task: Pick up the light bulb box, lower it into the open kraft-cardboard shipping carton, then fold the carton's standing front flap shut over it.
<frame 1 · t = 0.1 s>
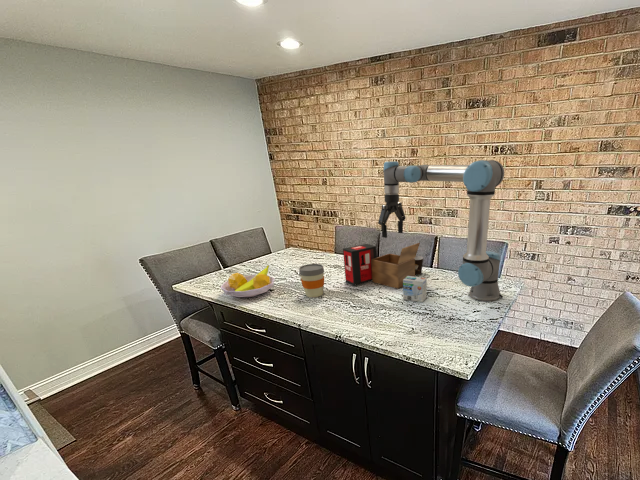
hand: (392, 235, 181), 28 cm above the worktop, tool pointing down, fingers open, 13 cm apart
light bulb box: (414, 298, 172), on the worktop
cleaning product box: (361, 281, 198), on the worktop
carton: (393, 281, 196), on the worktop
flap: (408, 253, 182), point 19 cm above the worktop, hinge at 110.0°
coffee mug: (414, 273, 209), on the worktop
fruit bowl: (252, 292, 183), on the worktop
reusable coffee cup: (314, 294, 179), on the worktop
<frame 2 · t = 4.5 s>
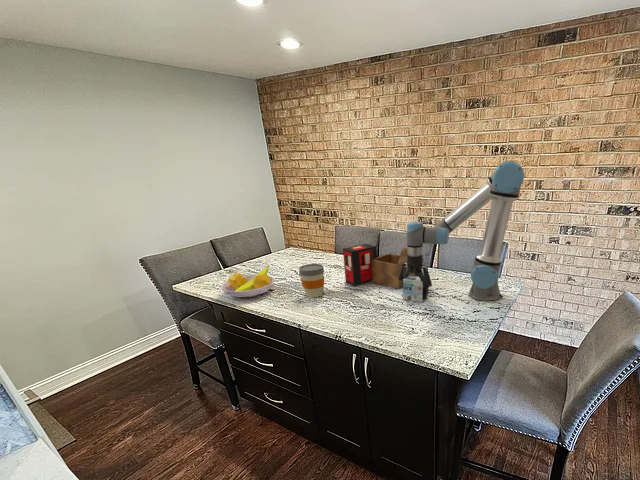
hand: (414, 296, 171), 1 cm above the worktop, tool pointing down, fingers closed on light bulb box, 11 cm apart
light bulb box: (414, 298, 172), on the worktop, touching gripper
everything else where it was.
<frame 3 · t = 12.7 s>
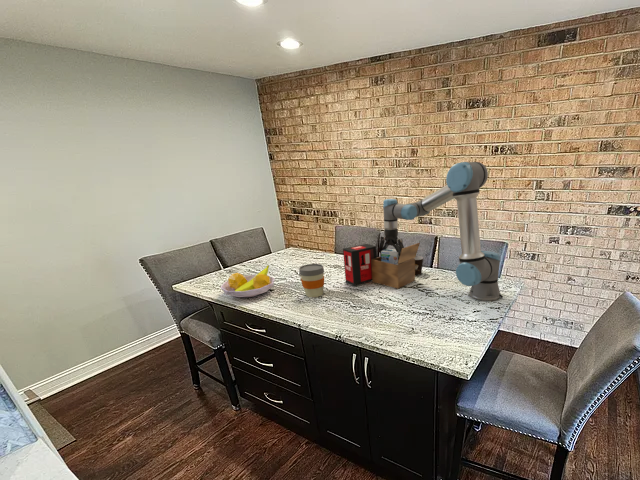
hand: (392, 266, 193), 9 cm above the worktop, tool pointing down, fingers closed on light bulb box, 11 cm apart
light bulb box: (392, 269, 193), point 7 cm above the worktop, touching gripper
everything else where it was.
when the fingers open (9 cm above the worktop, at t = 17.0 s): light bulb box drops 4 cm, point 4 cm above the worktop.
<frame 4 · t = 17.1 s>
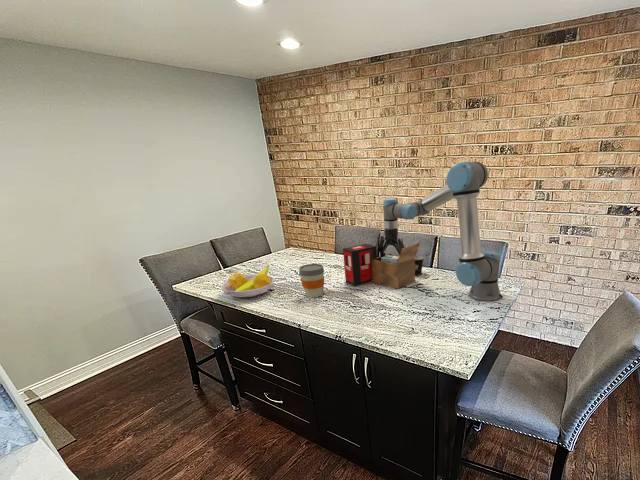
hand: (392, 265, 193), 9 cm above the worktop, tool pointing down, fingers open, 12 cm apart
light bulb box: (392, 275, 195), point 4 cm above the worktop
everything else where it was.
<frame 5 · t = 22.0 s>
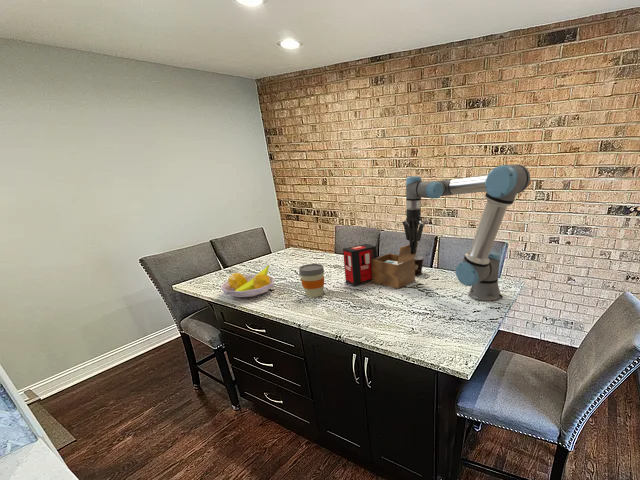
hand: (413, 253, 181), 19 cm above the worktop, tool pointing down, fingers closed
light bulb box: (393, 280, 196), resting on carton
flap: (408, 252, 182), point 19 cm above the worktop, hinge at 102.8°, touching gripper
everything else where it was.
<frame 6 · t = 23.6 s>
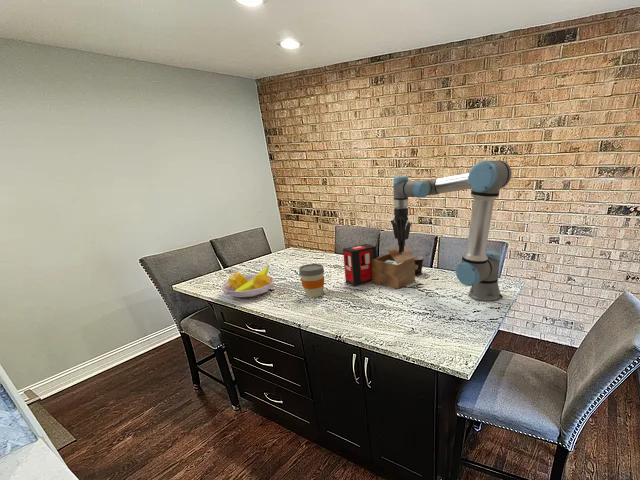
hand: (401, 251, 185), 19 cm above the worktop, tool pointing down, fingers closed
flap: (401, 253, 186), point 17 cm above the worktop, hinge at 43.7°, touching gripper
everything else where it was.
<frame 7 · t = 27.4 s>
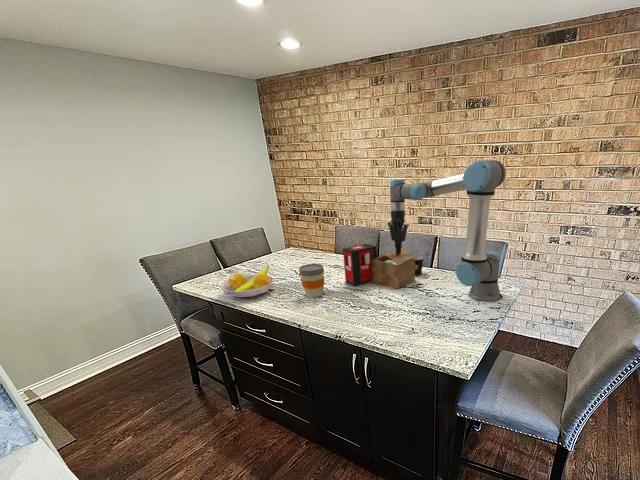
hand: (398, 253, 187), 17 cm above the worktop, tool pointing down, fingers closed
flap: (400, 256, 187), point 16 cm above the worktop, hinge at 23.0°, touching gripper
everything else where it was.
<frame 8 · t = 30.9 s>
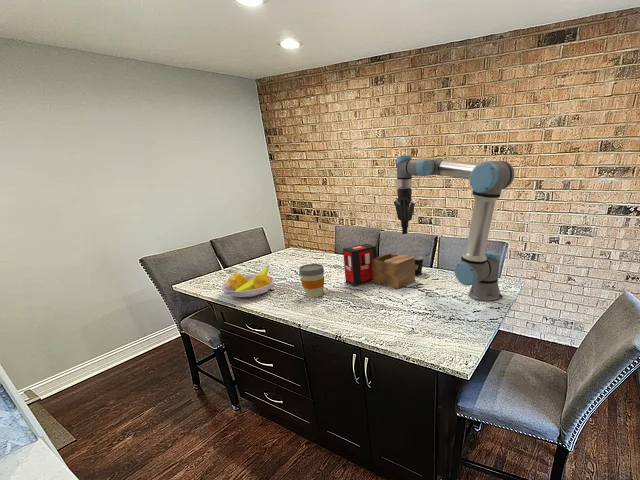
hand: (404, 233, 182), 28 cm above the worktop, tool pointing down, fingers closed
flap: (399, 259, 188), point 14 cm above the worktop, hinge at 0.6°
everything else where it was.
at the end: light bulb box inside the target area in the carton (0.7 cm from its centre), point 0.3 cm above the carton's base; flap at +1° (first picture: +110°) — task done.
